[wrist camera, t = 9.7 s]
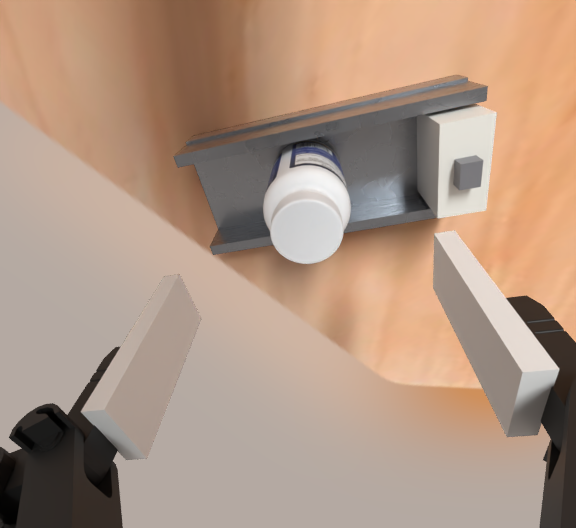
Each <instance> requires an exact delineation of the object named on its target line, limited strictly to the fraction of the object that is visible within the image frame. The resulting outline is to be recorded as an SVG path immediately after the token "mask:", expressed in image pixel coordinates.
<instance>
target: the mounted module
mask: <svg viewBox="0 0 576 528" xmlns="http://www.w3.org/2000/svg"><path fill="white" fill-rule="evenodd" d="M496 115H497V112H495V111H492V110H490V109H487V108H484V107H482V106H479V105H477V104H470V105H465V106H460V107H456V108H451V109H447V110H442V111H437V112H433V113H428V114H423V115H419V116H417V190H418V192H419V193H420V195H421V196H422V197H423V199H424V200H425V202H426V203H427V204H428V206H429V207H430V209H431V210H432V211H433V213H434V214H435V216H436V217H437V218H443V217H449V216H455V215H461V214H468V213H474V212H480V211H486V207H487V198H488V188H489V179H490V170H491V161H492V152H493V143H494V134H495V124H496Z"/></svg>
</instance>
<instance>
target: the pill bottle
mask: <svg viewBox="0 0 576 528" xmlns="http://www.w3.org/2000/svg"><path fill="white" fill-rule="evenodd" d="M263 214H264V219H265V222H266V225H267V227H268V229H269V230H270V236H271V240H272V243H273V245H274V247H275V248H276V250H277V251H278V252H279V253H280V254H281V255H282V256H283V257H285V258H286V259H288V260H290V261H293V262H296V263H301V264H313V263H317V262H320V261H323V260H325V259H327V258H328V257H330V256H331V255H332V254H333V253H334V252H335V251H336V250H337V249H338V247H339V246H340V244H341V241H342V238H343V231H344V230H345V228H346V226H347V224H348V222H349V218H350V214H351V203H350V197H349V193H348V190H347V186H346V182H345V179H344V175H343V171H342V167H341V164H340V161H339V159H338V157H337V155H336V154H335V153H334V151H333V150H332V149H331V148H329V147H328V146H327V145H325V144H323V143H321V142H318V141H315V140H303V141H299V142H294V143H292V144H290V145H289V146H287V147H286V148H285V149H283V151H282V152H281V153H280V154H279V155H278V157H277V158H276V160H275V162H274V165H273V168H272V172H271V175H270V179H269V183H268V186H267V190H266V193H265V197H264V204H263Z"/></svg>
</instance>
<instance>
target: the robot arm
mask: <svg viewBox="0 0 576 528" xmlns="http://www.w3.org/2000/svg"><path fill="white" fill-rule="evenodd" d="M433 289H434V291H435V293H436V295H437V297H438V299H439V301H440V303H441V305H442V307H443V309H444V311H445V313H446V315H447V317H448V319H449V321H450V323H451V325H452V327H453V329H454V331H455V333H456V335H457V337H458V339H459V341H460V343H461V345H462V347H463V349H464V351H465V353H466V355H467V357H468V359H469V361H470V363H471V365H472V368H473V370H474V372H475V374H476V376H477V378H478V380H479V382H480V384H481V386H482V388H483V390H484V392H485V393H486V396H487V398H488V400H489V402H490V404H491V406H492V408H493V410H494V412H495V414H496V416H497V418H498V420H499V422H500V424H501V426H502V428H503V430H504V432H505V434H506V436H507V437H515V436H530V435H538V432H539V429H540V426H541V423H542V424H543V426H544V428H545V429H546V431H547V433H548V434H549V436H550V438H551V440H550V443H549V446H548V448H547V451H546V454H545V456H544V459H543V460H544V461H546V462H547V464H546V474H545V483H544V492H543V501H542V510H541V519H540V528H576V342H575V341H574V340H573V339H572V338H571V337H570V336H569V334H568V333H567V332H566V331H564V330H563V328H562V326H561V325H560V324H559V323H558V322H557V321H555V320H554V317H553V316H552V315H551V314H550V313H549V312H548V310H547V309H546V308H545V307H544V306H543V305H541V304H540V303H538V302H536V301H535V300H533V299H531V298H530V297H528V296H519V297H511V298H505V296H504V295H503V294H502V292H501V291H500V290H499V288H498V287H497V286H496V284H495V283H494V282H493V280H492V279H491V278H490V276H489V275H488V274H487V273H486V271H485V270H484V269H483V267H482V266H481V265H480V263H479V262H478V261H477V259H476V258H475V257H474V255H473V254H472V253H471V251H470V250H469V249H468V247H467V246H466V245H465V243H464V242H463V241H462V239H461V238H460V237H459V235H458V234H457V233H456V231H455V230H454V231H448V232H441V233H435V234H434V269H433ZM200 321H201V317H200V315H199V313H198V311H197V309H196V307H195V305H194V303H193V301H192V299H191V297H190V295H189V293H188V291H187V288H186V286H185V284H184V282H183V280H182V279H181V276H180V274H177V275H170V276H164V277H163V279H162V280H161V282H160V284H159V285H158V287H157V289H156V290H155V292H154V294H153V295H152V297H151V298H150V300H149V302H148V303H147V305H146V306H145V308H144V310H143V311H142V313H141V315H140V316H139V318H138V319H137V321H136V323H135V324H134V326H133V328H132V329H131V331H130V332H129V334H128V336H127V337H126V339H125V341H124V342H123V344H122V345H121V347H116V348H115V349H113V350H112V351H111V352H110V353H109V354H108V355H107V356H106V357H105V358H104V359H103V361H102V362H101V364H100V366H99V367H98V369H97V372H96V373H94V375H93V376H92V378H91V380H90V383H88V384H87V386H86V387H85V389H84V390H83V392H82V393H81V395H80V396H79V398H78V400H77V401H76V403H75V405H74V406H73V407H72V409H71V410H70V412H69V414H68V415H66V414H65V413H64V412H63V411H62V410H61V409H60V408H59V407H58V406H57V405H55V404H53V403H52V404H45V405H42V406H39V407H37V408H35V409H34V410H33V411H31V412H29V413H28V414H27V415H26V416H24V417H23V418H22V419H21V420H20V421H19V422H18V423H17V424H16V426H15V427H14V428H13V430H12V432H11V434H10V436H9V438H10V439H11V440H12V441H13V442H15V443H16V444H17V445H18V446H20V447H21V448H22V449H20V450H17V451H15V452H12V453H8V452H7V451H6V450H5V449H3V448H2V447H0V528H123V527H122V515H121V504H120V494H119V482H118V470H117V467H116V464H115V463H114V462H113V459H114V457H115V455H116V453H117V451H118V452H119V453H120V454H121V455H122V456H123V457H124V458H125V459H126V460H132V459H147V457H148V455H149V452H150V450H151V447H152V444H153V442H154V439H155V437H156V434H157V432H158V429H159V426H160V424H161V421H162V419H163V416H164V414H165V411H166V408H167V406H168V403H169V401H170V398H171V396H172V393H173V390H174V388H175V385H176V382H177V380H178V378H179V375H180V372H181V370H182V367H183V365H184V362H185V360H186V357H187V354H188V352H189V349H190V346H191V344H192V341H193V339H194V336H195V333H196V331H197V329H198V326H199V324H200Z"/></svg>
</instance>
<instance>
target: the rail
mask: <svg viewBox="0 0 576 528" xmlns="http://www.w3.org/2000/svg"><path fill="white" fill-rule="evenodd" d="M487 88H488V86H485V85H481V84H478V83H474V82H470V81H468V77H464V76H460V75H454V76H449V77H445V78H441V79H436V80H432V81H428V82H423V83H419V84H415V85H410V86H406V87H402V88H398V89H393V90H389V91H385V92H380V93H376V94H372V95H367V96H363V97H359V98H354V99H350V100H346V101H341V102H337V103H333V104H328V105H324V106H320V107H315V108H311V109H307V110H303V111H298V112H294V113H290V114H285V115H281V116H277V117H272V118H268V119H264V120H259V121H255V122H251V123H246V124H242V125H238V126H233V127H229V128H225V129H220V130H216V131H212V132H207V133H203V134H199V135H195V136H192V137H191V138H190V139H189V140H188V141H186V144H187V145H186V146H185V147H184V148H182V149H181V150H180V151H179V152H178V153H176V154H175V155H174V156H173V157H174V159H175V162H176V164H177V167H183V166H188V165H192V164H194V165H195V168H196V171H197V173H198V176H199V179H200V181H201V184H202V187H203V189H204V192H205V195H206V197H207V200H208V203H209V205H210V208H211V211H212V213H213V216H214V219H215V221H216V224H217V227H218V231H217V233H216V235H215V237H214V239H213V241H212V243H211V245H210V248H211V251H212V253H213V255H215V254H221V253H227V252H234V251H240V250H246V249H252V248H258V247H264V246H270V245H273V243H272V240H271V236H270V230H269V229H268V227H267V225H266V222H265V219H264V214H263V204H264V197H265V193H266V190H267V186H268V183H269V179H270V175H271V172H272V168H273V165H274V162H275V160H276V158H277V157H278V155H279V154H280V153H281V152H282V151H283V149H285V148H286V147H287V146H289V145H290V144H292V143H294V142H299V141H303V140H315V141H318V142H321V143H323V144H325V145H327V146H328V147H329V148H331V149H332V150H333V151H334V153H335V154H336V155H337V157H338V159H339V161H340V164H341V167H342V171H343V175H344V179H345V182H346V186H347V190H348V193H349V197H350V203H351V214H350V218H349V222H348V224H347V226H346V228H345V230H344V231H343V233H348V232H354V231H360V230H366V229H372V228H378V227H384V226H390V225H396V224H402V223H408V222H414V221H420V220H426V219H432V218H437V217H436V216H435V214H434V213H433V211H432V210H431V209H430V207H429V206H428V204H427V203H426V202H425V200H424V199H423V197H422V196H421V195H420V193H419V192H418V190H417V116H419V115H423V114H428V113H433V112H437V111H442V110H447V109H451V108H456V107H460V106H465V105H470V104H474V103H479V102H484V101H486V99H487Z"/></svg>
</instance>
